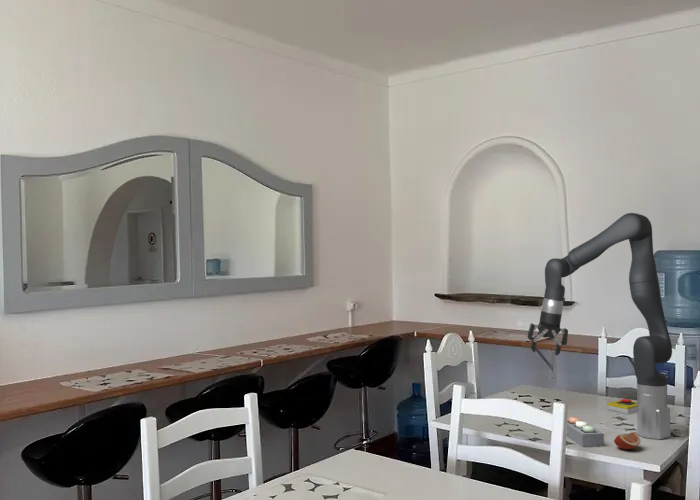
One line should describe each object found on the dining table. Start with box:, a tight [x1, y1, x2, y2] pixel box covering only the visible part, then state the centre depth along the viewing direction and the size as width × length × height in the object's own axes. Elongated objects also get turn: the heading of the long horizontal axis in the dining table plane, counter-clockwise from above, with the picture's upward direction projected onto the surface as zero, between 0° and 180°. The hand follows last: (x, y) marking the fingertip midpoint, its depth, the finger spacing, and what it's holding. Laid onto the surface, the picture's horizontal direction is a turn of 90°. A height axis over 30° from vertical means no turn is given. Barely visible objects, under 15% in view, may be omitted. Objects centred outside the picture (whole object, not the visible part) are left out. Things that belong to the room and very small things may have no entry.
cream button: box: [576, 420, 588, 429], centre depth 221 cm, size 3×3×2 cm
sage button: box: [583, 424, 595, 433], centre depth 216 cm, size 3×3×2 cm
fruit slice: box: [613, 431, 641, 450], centre depth 209 cm, size 8×7×5 cm
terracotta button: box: [568, 416, 581, 424], centre depth 227 cm, size 3×3×2 cm
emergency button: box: [603, 398, 637, 416], centre depth 259 cm, size 9×4×15 cm
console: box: [566, 419, 605, 448], centre depth 221 cm, size 18×7×4 cm, turn 5°
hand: (544, 353), depth 253 cm, fingers open, 8 cm apart
